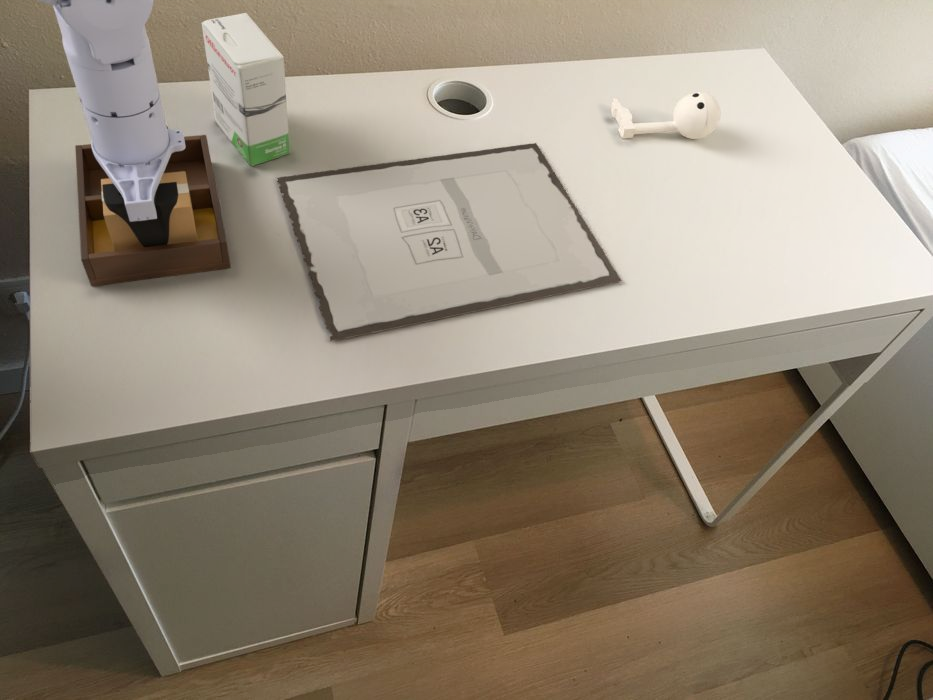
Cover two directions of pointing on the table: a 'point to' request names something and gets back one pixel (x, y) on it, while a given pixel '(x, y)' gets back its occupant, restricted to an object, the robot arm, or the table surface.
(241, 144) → the ink box
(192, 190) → the tray
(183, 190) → the parcel
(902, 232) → the table surface
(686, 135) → the figurine
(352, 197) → the picture frame
